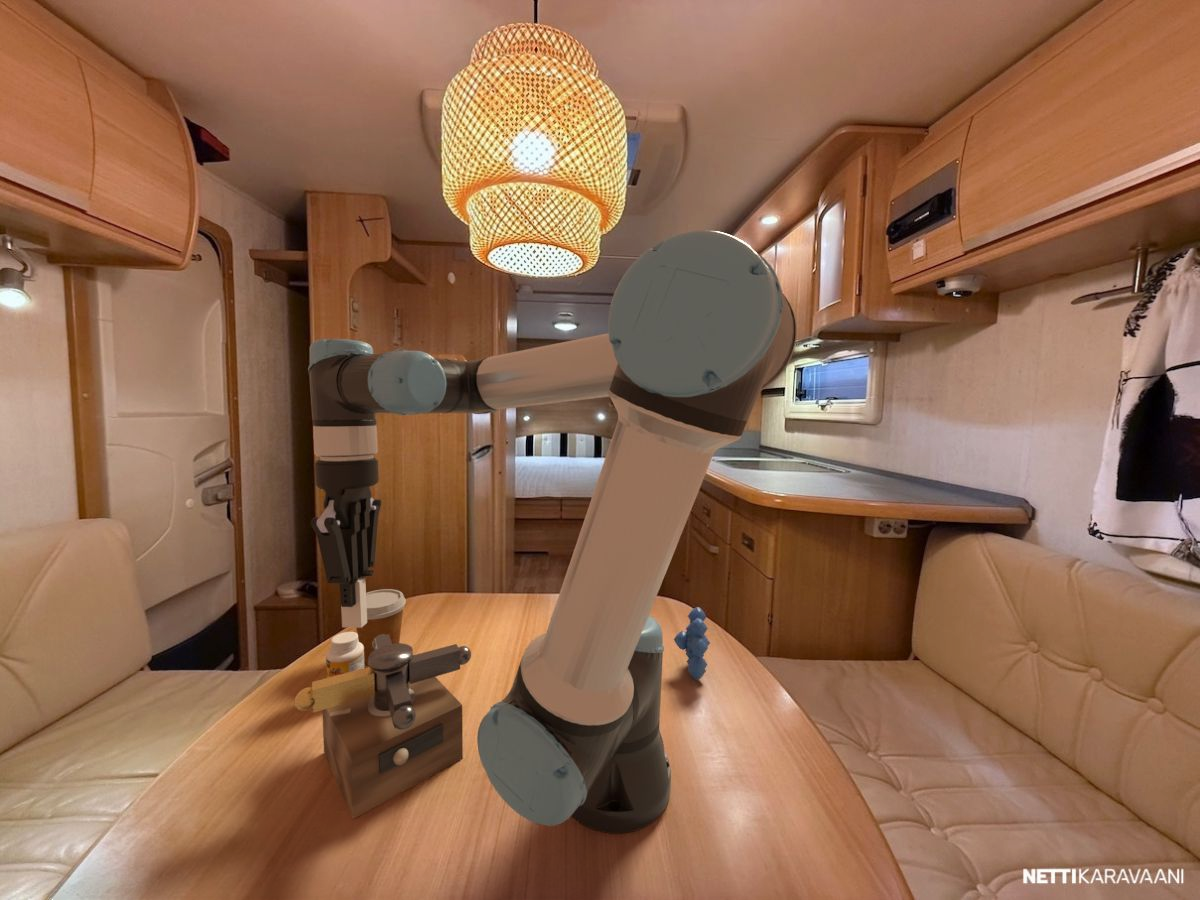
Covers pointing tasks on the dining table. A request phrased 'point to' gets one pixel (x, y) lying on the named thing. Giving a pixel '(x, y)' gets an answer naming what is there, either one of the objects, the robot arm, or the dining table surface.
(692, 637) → the grapes
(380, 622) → the disposable coffee cup
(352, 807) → the stand
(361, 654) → the supplement bottle
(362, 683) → the capstan
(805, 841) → the dining table surface
